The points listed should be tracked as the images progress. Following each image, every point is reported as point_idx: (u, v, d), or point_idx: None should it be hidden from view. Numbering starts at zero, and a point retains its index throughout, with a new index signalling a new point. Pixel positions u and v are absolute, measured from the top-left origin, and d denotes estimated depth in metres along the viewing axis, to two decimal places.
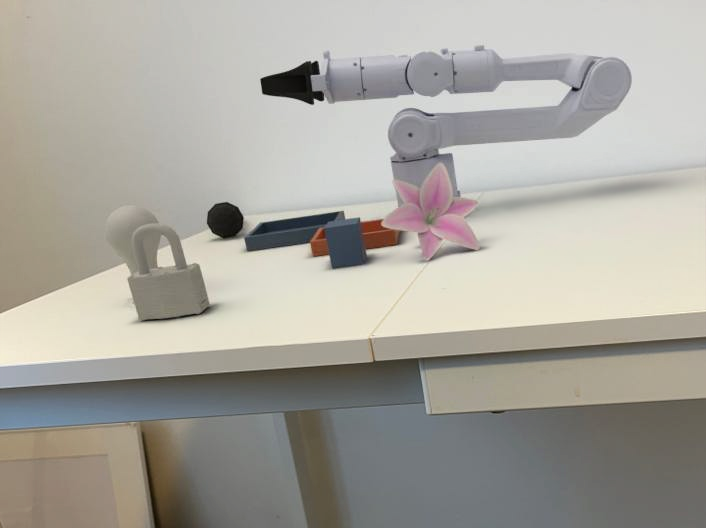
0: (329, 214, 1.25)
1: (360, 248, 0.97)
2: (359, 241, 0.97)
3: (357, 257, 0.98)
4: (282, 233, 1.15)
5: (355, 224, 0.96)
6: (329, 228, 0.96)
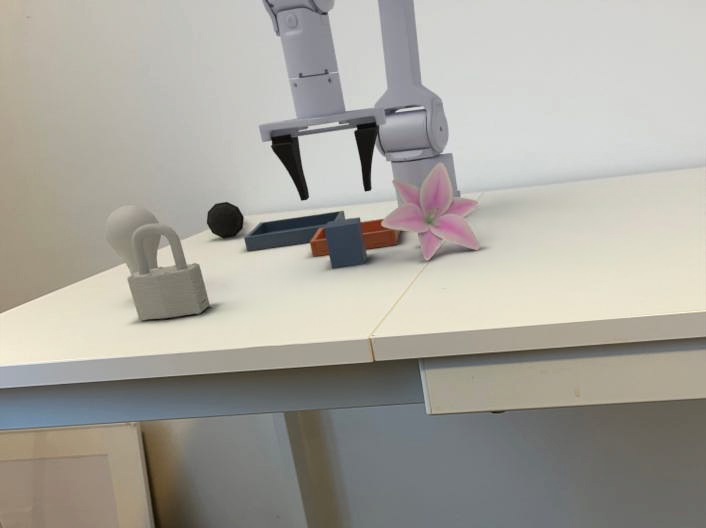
0: (329, 214, 1.25)
1: (360, 248, 0.97)
2: (359, 241, 0.97)
3: (357, 257, 0.98)
4: (282, 233, 1.15)
5: (355, 224, 0.96)
6: (329, 228, 0.96)
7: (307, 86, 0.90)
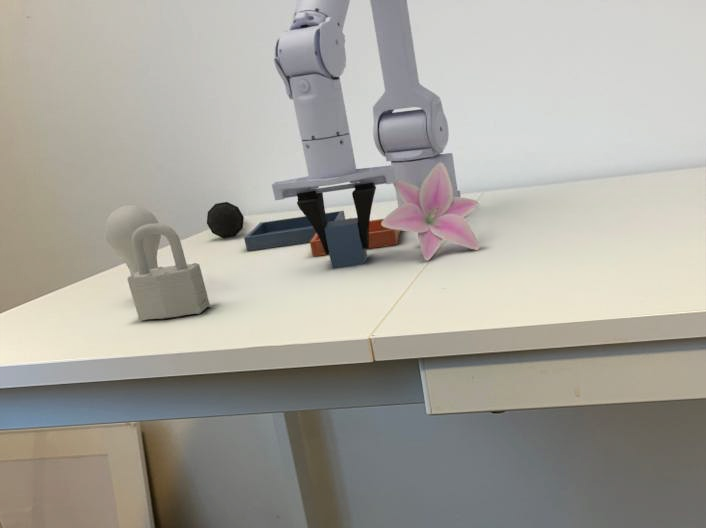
0: (329, 214, 1.25)
1: (360, 248, 0.97)
2: (359, 241, 0.97)
3: (357, 257, 0.98)
4: (282, 233, 1.15)
5: (355, 224, 0.96)
6: (329, 228, 0.96)
7: (319, 148, 0.92)
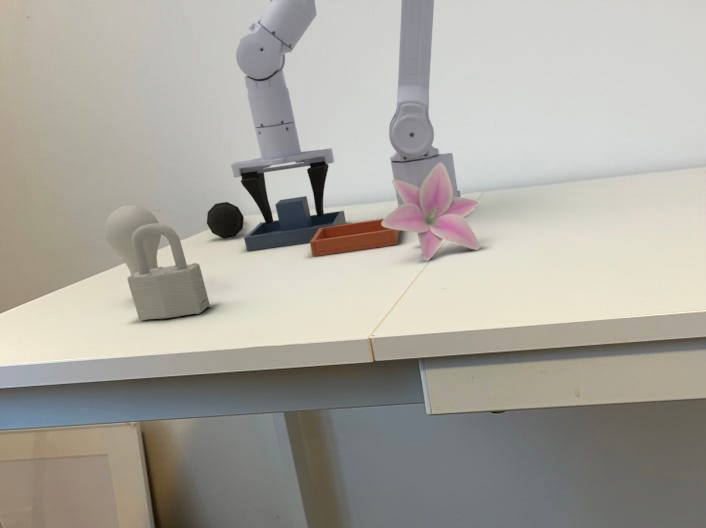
0: (329, 214, 1.25)
1: (305, 221, 1.18)
2: (304, 215, 1.18)
3: None
4: (282, 233, 1.15)
5: (301, 201, 1.17)
6: (279, 204, 1.17)
7: (269, 134, 1.13)
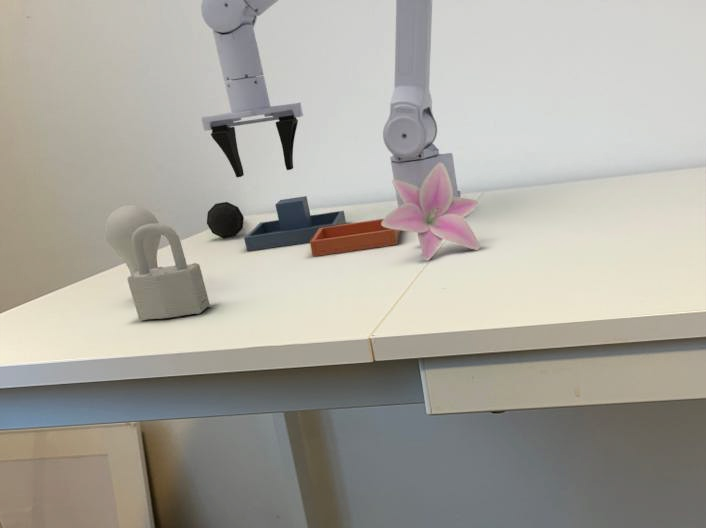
0: (329, 214, 1.25)
1: (305, 221, 1.18)
2: (304, 215, 1.18)
3: None
4: (282, 233, 1.15)
5: (301, 201, 1.17)
6: (279, 204, 1.17)
7: (237, 87, 1.15)
